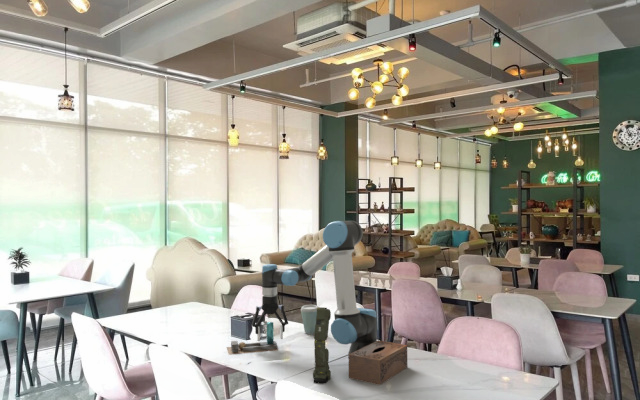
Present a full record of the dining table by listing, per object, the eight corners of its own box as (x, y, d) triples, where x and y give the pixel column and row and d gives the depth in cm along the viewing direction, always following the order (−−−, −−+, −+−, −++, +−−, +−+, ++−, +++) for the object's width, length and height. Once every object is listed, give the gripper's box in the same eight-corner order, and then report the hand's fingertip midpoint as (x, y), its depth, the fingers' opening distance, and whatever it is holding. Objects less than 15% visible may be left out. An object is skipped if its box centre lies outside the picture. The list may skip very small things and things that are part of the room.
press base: (273, 345, 251) (273, 336, 251) (278, 352, 238) (278, 342, 238) (226, 349, 245) (226, 339, 245) (228, 357, 232) (228, 347, 232)
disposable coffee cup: (319, 335, 270) (319, 308, 271) (300, 335, 271) (299, 308, 271) (319, 330, 281) (319, 304, 281) (301, 330, 281) (300, 304, 282)
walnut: (246, 350, 239) (246, 342, 239) (238, 350, 238) (238, 343, 238) (245, 348, 242) (245, 340, 242) (238, 348, 241) (238, 341, 241)
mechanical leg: (326, 385, 192) (329, 307, 199) (308, 383, 193) (311, 306, 201) (332, 381, 205) (334, 308, 212) (315, 380, 206) (318, 307, 214)
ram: (275, 343, 247) (275, 321, 247) (276, 345, 242) (276, 323, 243) (259, 344, 245) (259, 322, 245) (260, 347, 240) (260, 324, 241)
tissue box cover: (378, 362, 223) (378, 340, 223) (407, 368, 215) (407, 345, 215) (348, 378, 202) (348, 354, 202) (379, 385, 194) (379, 360, 194)
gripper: (291, 292, 251) (291, 335, 250) (245, 295, 245) (245, 339, 244) (294, 295, 244) (294, 339, 243) (247, 298, 238) (247, 343, 237)
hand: (270, 339), depth 244 cm, fingers open, 11 cm apart
